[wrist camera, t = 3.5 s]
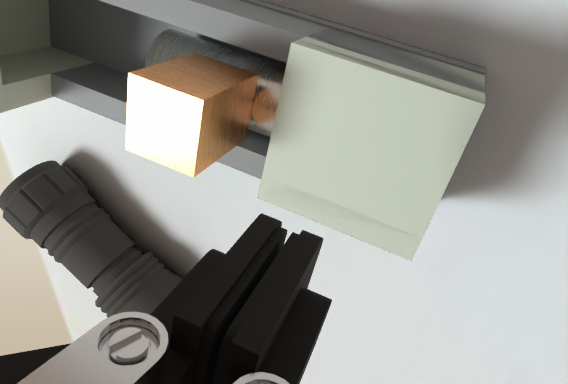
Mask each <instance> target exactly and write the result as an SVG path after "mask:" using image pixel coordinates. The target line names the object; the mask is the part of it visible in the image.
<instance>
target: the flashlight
mask: <svg viewBox="0 0 568 384" xmlns="http://www.w3.org/2000/svg"><path fill="white" fill-rule="evenodd" d="M0 208H1V209H2V210H3V211H4V212H3V218H4V219H5V220H6V221H7V222H8V223H9V224H10V225H11V226H12V227H13V228H14V229H15V230H16V231H17V232H18V233H19V234H20V235H21V236H23V237H24V238H26V239H33V240H34V241H35V242H36V243H37V244H38V245H39V246H40V247H41V248H46V249H47V250H48V253H49V255H50V256H54V259H55V261H57V262H59V263H62V264H63V265H64V266H65V267H66V268H67V269H68V270H69V271H70V272H71V273H72V274H73V275H74V276H75V277H76V278H77V279H78V280H79V281H80V282H81V283H82V284H83V285H84V286H85V287H86V288H90V287H93V288H94V290H93V292H94V293H95V294H96V295H97V296H98V298H97V300H96V302H95V303H96V306H97V307H101V311H102V312H103V313H107V317H108V318H109V317H110V316H112V315H116V314H119V313H123V312H141V313H146V314H149V315H150V314H151V313H152V312H153V311H154V310H155V309H156V308H157V307H158V306H159V304H160V303H161V302H162V301H163V300H164V299H165V298H166V297H167V296H168V295H169V294H170V293H171V291H172V290H173V289H174V288H175V287H176V286H177V285H178V284H179V283H180V282H181V281H182V280H183V278H181V277H179V276H177V275H176V274H174V273H172V272H171V271H169V270H167V269H166V268H164V264H163V263H159V259H158V258H155V257H154V254H153V253H151V252H148V253H146V254H144V255H143V254H142V253H141V252H140V251H139V250H135V249H134V247H135V245H136V244H135V243H134V242H133V241H132V240H131V239H130V238H129V237H128V236H127V235H126V234H125V233H124V232H123V231H122V230H121V229H120V228H119V227H118V226H117V225H116V224H115V223H114V222H113V221H112V220H111V217H110V215H109V214H106V213H105V212H104V209H103V208H99V207H98V206H97V201H96V200H95V199H94V198H93V197H92V196H91V195H90V194H89V193H88V187H87V186H86V185H85V184H84V183H83V182H82V181H81V180H80V179H79V178H78V177H77V176H76V175H75V174H74V173H73V172H72V171H71V170H70V169H69V168H68V167H65V166H60V165H59V164H58V163H57V162H56V161H46V162H43V163H40V164H38V165H36V166H34V167H32V168H31V169H29V170H27V171H26V172H24V173H23V174H21V175H20V176H19V177H17V178H16V179H15V180H14V181H13V182H12V183H11V184H10V185H9V186H8V187H7V188H6V189H5V190H4V191H3V193H2V194H1V196H0Z"/></svg>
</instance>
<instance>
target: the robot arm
mask: <svg viewBox="0 0 568 384" xmlns="http://www.w3.org/2000/svg"><path fill="white" fill-rule="evenodd" d="M281 225H282V222H281V221H279V220H277V219H274V218H272V217H269V216H267V215H264V214H260V215H259V216H258V217H257V218H256V219H255V221H254V222H253V223H252V224H251V225H250V226H249V228H248V229H247V230H246V231H245V232H244V233H243V235H242V236H241V237H240V238H239V239H238V240H237V242H236V243H235V244H234V245H233V246H232V247H231V249H230V250H229V251H228V252H227V253H226V254H224V253H222V252H220V251H217V250H215V249H212V250H210V251H209V252H208V253H207V254H206V255H205V256H204V257H203V258H202V259H201V260H200V261H199V262H198V263H197V264H196V266H195V267H194V268H193V269H192V270H191V271H190V272H189V273H188V274H187V275H186V276H185V277H184V279H183V280H182V281H181V282H180V283H179V284H178V285H177V286H176V287H175V288H174V289H173V290H172V291H171V293H170V294H169V295H168V296H167V297H166V298H165V299H164V300H163V301H162V302H161V303H160V304H159V306H158V307H157V308H156V309H155V310H154V311H153V312H152V313H151V314H150V315H149V314H146V313H141V312H123V313H119V314H116V315H112V316H110V317H109V318H107V319H105V320H103V321H102V322H100V323H99V324H98V325H96V326H95V327H93V328H92V329H91V330H89V331H88V332H87V333H85V334H84V335H82V336H81V337H80V338H78V339H77V340H76V341H74V342H73V343H71V344H66V345H60V346H54V347H49V348H43V349H38V350H32V351H27V352H20V353H15V354H9V355H4V356H0V384H299V383H300V381H301V378H302V376H303V374H304V371H305V369H306V366H307V364H308V361H309V359H310V356H311V354H312V351H313V349H314V346H315V344H316V341H317V339H318V336H319V334H320V331H321V328H322V326H323V323H324V321H325V318H326V315H327V313H328V310H329V307H330V305H331V302H332V300H331V299H329V298H327V297H324V296H322V295H320V294H317V293H315V292H313V291H310V290H308V289H307V288H308V285H309V282H310V279H311V276H312V273H313V270H314V267H315V264H316V261H317V258H318V255H319V252H320V249H321V246H322V242H323V238H322V237H319V236H317V235H314V234H312V233H309V232H307V231H304V230H302V232H301V233H300V235H299V234H296V233H294V232H293V233H292V234H291V235H290V237H289V238H288V240H287V241H286V243H285V244H284V242H285V238H286V235H287V230H286V229H284V228H281ZM283 245H284V246H283Z"/></svg>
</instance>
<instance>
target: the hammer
mask: <svg viewBox="0 0 568 384" xmlns="http://www.w3.org/2000/svg"><path fill="white" fill-rule="evenodd" d="M285 69H286V67H284V66H281V65H278V64H275V63H272V62H269V61H266V60H263V59H260V58H257V57H254V56H251V55H248V54H245V53H242V52H239V51H236V50H233V49H230V48H227V47H224V46H221V45H218V44H215V43H212V42H209V41H206V40H203V39H200V38H197V37H194V36H191V35H188V34H185V33H182V32H179V31H176V30H173V29H167V30H165V31H163V32H161V33H160V34H159V35H158V36H157V37H156V39H155V40H154V41H153V43H152V45H151V47H150V49H149V52H148V55H147V58H146V64H145V68H142V69H139V70H136V71H132V72H129V73H128V95H127V124H126V150H129V151H131V152H134V153H136V154H138V155H141V156H143V157H146V158H148V159H151V160H153V161H155V162H158V163H160V164H163V165H165V166H167V167H170V168H172V169H175V170H177V171H180V172H182V173H184V174H187V175H189V176H192V177H195V176H196V175H197V174H199V173H200V172H202V171H203V170H204V169H206V168H207V167H208V166H210V165H211V164H213V163H214V162H215V161H217V160H218V159H219V158H221V157H222V156H224V155H225V154H226V153H228V152H229V151H230V150H232V149H233V148H235V147H236V146H237V145H239V144H240V143H241V142H243V141H244V140H245V139H246V138H247V132H248V129H249V130H252V131H255V132H257V133H260V134H263V135H265V136H268V137H271V133H272V129H273V124H274V119H275V115H276V110H277V106H278V101H279V97H280V92H281V87H282V83H283V78H284V74H285Z"/></svg>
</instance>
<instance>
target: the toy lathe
mask: <svg viewBox="0 0 568 384" xmlns="http://www.w3.org/2000/svg"><path fill="white" fill-rule="evenodd" d="M167 29H173V30H176V31H179V32H182V33H185V34H188V35H191V36H194V37H197V38H200V39H203V40H206V41H209V42H212V43H215V44H218V45H221V46H224V47H227V48H230V49H233V50H236V51H239V52H242V53H245V54H248V55H251V56H254V57H257V58H260V59H263V60H266V61H269V62H272V63H275V64H278V65H281V66H284V67H286V69H285V74H284V78H283V83H282V87H281V92H280V97H279V101H278V106H277V110H276V115H275V119H274V124H273V129H272V133H271V137H268V136H265V135H263V134H260V133H257V132H255V131H252V130H249V129H248V132H247V138H246V139H245V140H244V141H243V142H241V143H240V144H239V145H237V146H236V147H235V148H233V149H232V150H230V151H229V152H228V153H226V154H225V155H224V156H222V157H221V158H219V159H218V160H217V162H220V163H222V164H225V165H227V166H230V167H232V168H235V169H237V170H240V171H242V172H245V173H247V174H250V175H252V176H255V177H257V178H260V179H261V183H260V188H259V192H258V197H257V198H259V199H261V200H264V201H266V202H269V203H271V204H274V205H276V206H278V207H281V208H283V209H286V210H288V211H291V212H293V213H295V214H298V215H300V216H303V217H305V218H308V219H310V220H312V221H315V222H317V223H320V224H322V225H325V226H327V227H330V228H332V229H334V230H337V231H339V232H342V233H344V234H347V235H349V236H351V237H354V238H356V239H359V240H361V241H364V242H366V243H368V244H371V245H373V246H376V247H378V248H381V249H383V250H386V251H388V252H390V253H393V254H395V255H398V256H400V257H403V258H405V259H407V260H410V261H412V259H413V257H414V255H415V253H416V250H417V248H418V246H419V244H420V242H421V240H422V238H423V236H424V234H425V231H426V229H427V227H428V225H429V223H430V221H431V219H432V217H433V215H434V212H435V210H436V208H437V206H438V204H439V202H440V200H441V198H442V196H443V193H444V191H445V189H446V187H447V185H448V183H449V181H450V179H451V177H452V174H453V172H454V170H455V168H456V166H457V164H458V162H459V160H460V158H461V155H462V153H463V151H464V149H465V147H466V145H467V143H468V141H469V139H470V136H471V134H472V132H473V130H474V128H475V126H476V124H477V122H478V120H479V117H480V115H481V113H482V111H483V109H484V107H485V74H486V68H482V67H479V66H476V65H472V64H469V63H466V62H462V61H459V60H456V59H453V58H449V57H446V56H443V55H439V54H436V53H433V52H429V51H426V50H423V49H420V48H416V47H413V46H410V45H406V44H403V43H400V42H396V41H393V40H390V39H387V38H383V37H380V36H377V35H373V34H370V33H367V32H363V31H360V30H357V29H353V28H350V27H347V26H344V25H340V24H337V23H334V22H330V21H327V20H324V19H320V18H317V17H314V16H311V15H307V14H304V13H301V12H297V11H294V10H291V9H287V8H284V7H281V6H277V5H274V4H271V3H268V2H264V1H261V0H0V113H1V112H5V111H8V110H11V109H14V108H18V107H21V106H24V105H28V104H31V103H34V102H38V101H41V100H44V99H48V98H51V97H57V98H59V99H62V100H64V101H67V102H69V103H72V104H74V105H77V106H79V107H82V108H84V109H87V110H89V111H92V112H94V113H97V114H99V115H102V116H104V117H107V118H109V119H112V120H114V121H117V122H119V123H122V124H124V125H126V124H127V95H128V73H129V72H132V71H136V70H139V69H142V68H145V64H146V58H147V55H148V52H149V49H150V47H151V45H152V43H153V41H154V40H155V39H156V37H157V36H158V35H159V34H160V33H161V32H163V31H165V30H167Z"/></svg>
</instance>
